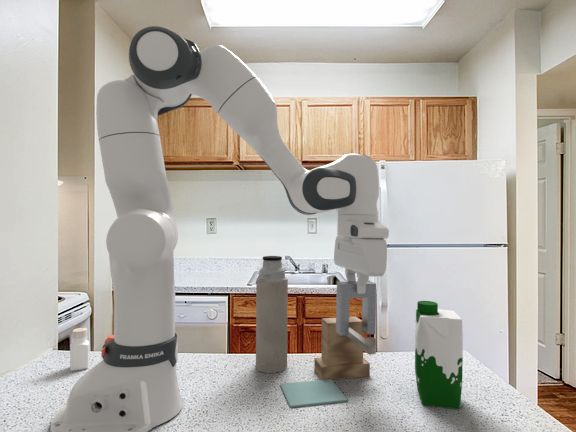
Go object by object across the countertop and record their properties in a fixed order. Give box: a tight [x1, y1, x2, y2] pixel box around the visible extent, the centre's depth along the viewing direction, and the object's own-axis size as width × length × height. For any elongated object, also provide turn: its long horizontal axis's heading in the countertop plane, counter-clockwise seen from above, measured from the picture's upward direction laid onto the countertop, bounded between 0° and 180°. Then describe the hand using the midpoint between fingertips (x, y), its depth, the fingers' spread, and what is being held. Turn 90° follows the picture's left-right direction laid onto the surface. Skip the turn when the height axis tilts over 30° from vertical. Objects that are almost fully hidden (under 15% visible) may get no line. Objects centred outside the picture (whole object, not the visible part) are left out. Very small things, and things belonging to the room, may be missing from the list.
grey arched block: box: [335, 280, 377, 336], centre depth 81 cm, size 8×3×11 cm, turn 103°
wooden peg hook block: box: [313, 316, 377, 381], centre depth 83 cm, size 12×20×14 cm, turn 13°
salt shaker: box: [69, 327, 90, 372], centre depth 91 cm, size 4×4×10 cm
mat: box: [279, 379, 348, 409], centre depth 79 cm, size 12×10×1 cm
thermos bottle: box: [255, 255, 289, 374], centre depth 93 cm, size 8×8×28 cm
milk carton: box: [414, 300, 464, 410], centre depth 77 cm, size 9×9×20 cm
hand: (356, 291), depth 81 cm, fingers closed on grey arched block, 3 cm apart
